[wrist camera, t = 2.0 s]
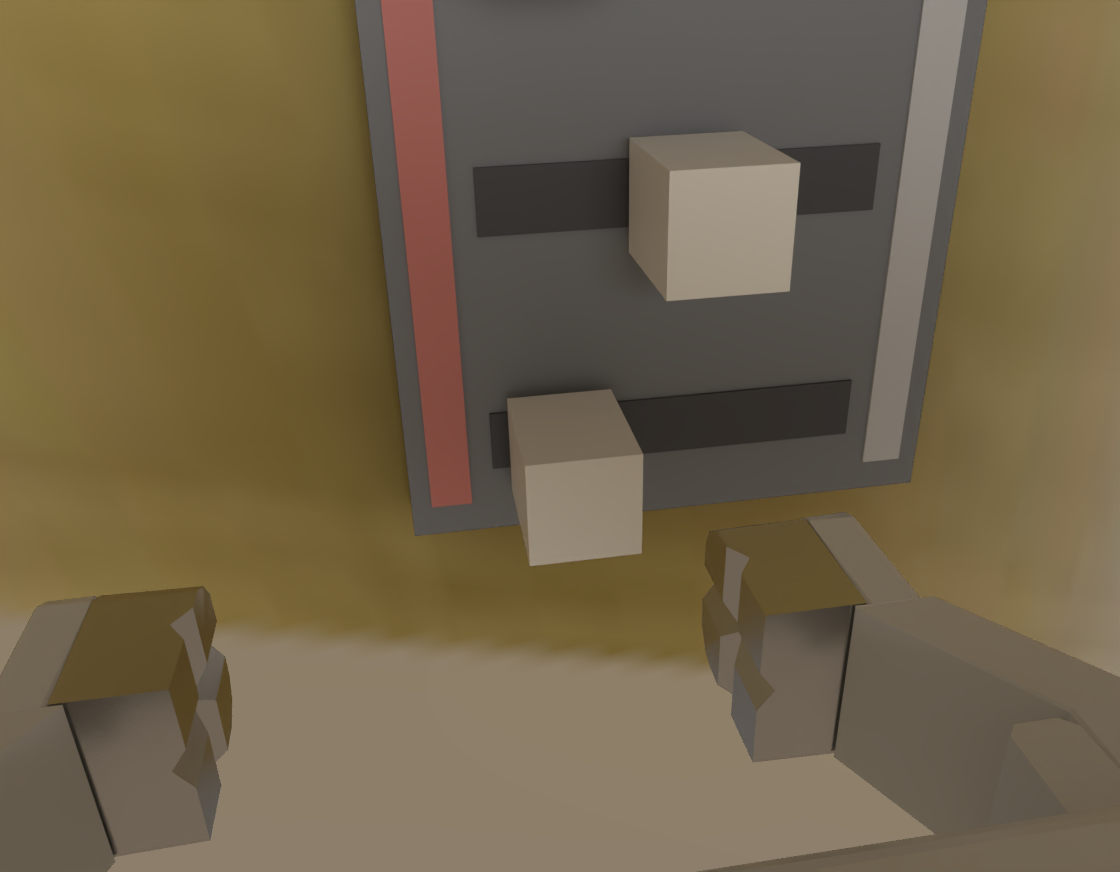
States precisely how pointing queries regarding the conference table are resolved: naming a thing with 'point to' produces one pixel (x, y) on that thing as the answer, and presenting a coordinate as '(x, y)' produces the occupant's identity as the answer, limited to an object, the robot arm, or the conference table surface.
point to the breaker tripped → (712, 214)
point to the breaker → (575, 477)
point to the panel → (603, 234)
